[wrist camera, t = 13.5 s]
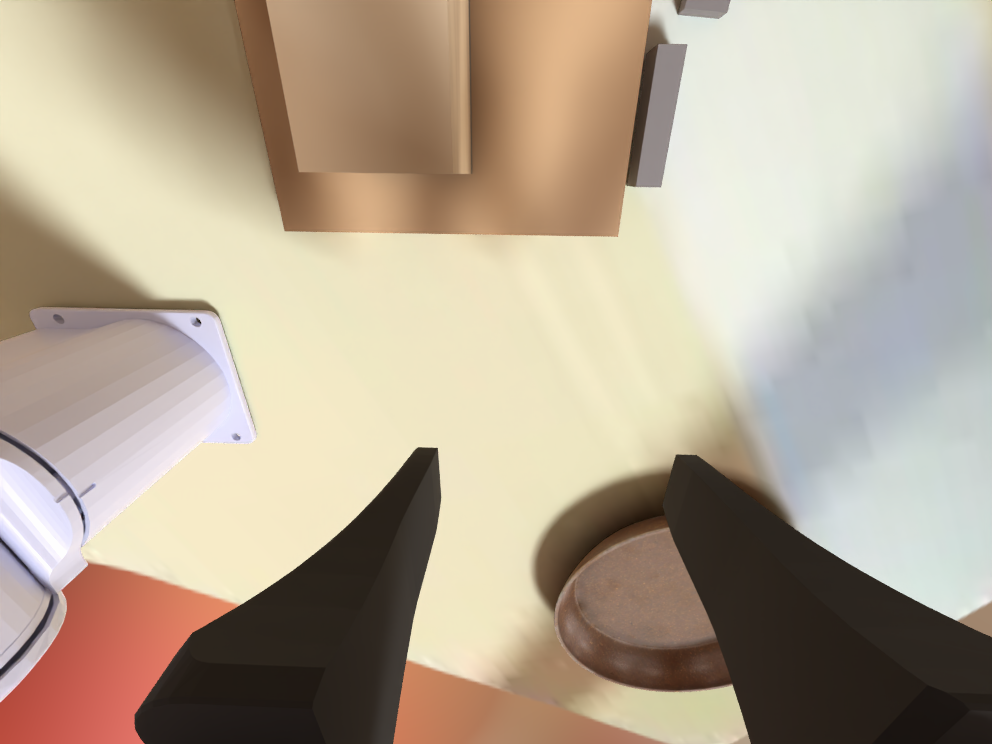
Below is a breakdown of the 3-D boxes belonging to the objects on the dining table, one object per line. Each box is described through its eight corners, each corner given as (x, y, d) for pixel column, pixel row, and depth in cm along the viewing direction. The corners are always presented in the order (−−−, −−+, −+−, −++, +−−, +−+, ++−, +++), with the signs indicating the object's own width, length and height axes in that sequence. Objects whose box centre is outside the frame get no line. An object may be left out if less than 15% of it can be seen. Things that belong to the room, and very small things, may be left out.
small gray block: (635, 186, 16) (660, 187, 16) (658, 43, 14) (687, 44, 14) (625, 185, 17) (648, 185, 17) (644, 55, 15) (670, 55, 15)
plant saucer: (525, 632, 32) (526, 675, 29) (594, 465, 24) (605, 502, 21) (729, 665, 33) (749, 709, 30) (858, 515, 25) (901, 556, 22)
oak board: (301, 226, 18) (284, 231, 17) (201, -274, 12) (161, -332, 10) (609, 231, 18) (618, 236, 16) (678, -280, 11) (701, -340, 10)
